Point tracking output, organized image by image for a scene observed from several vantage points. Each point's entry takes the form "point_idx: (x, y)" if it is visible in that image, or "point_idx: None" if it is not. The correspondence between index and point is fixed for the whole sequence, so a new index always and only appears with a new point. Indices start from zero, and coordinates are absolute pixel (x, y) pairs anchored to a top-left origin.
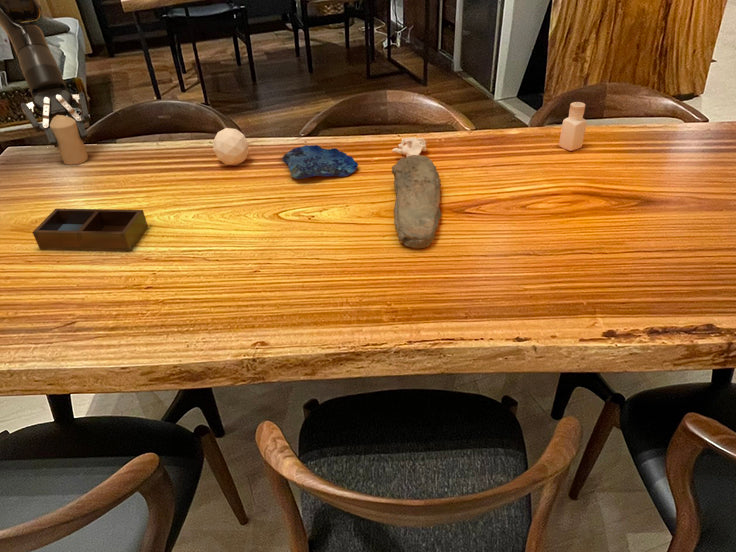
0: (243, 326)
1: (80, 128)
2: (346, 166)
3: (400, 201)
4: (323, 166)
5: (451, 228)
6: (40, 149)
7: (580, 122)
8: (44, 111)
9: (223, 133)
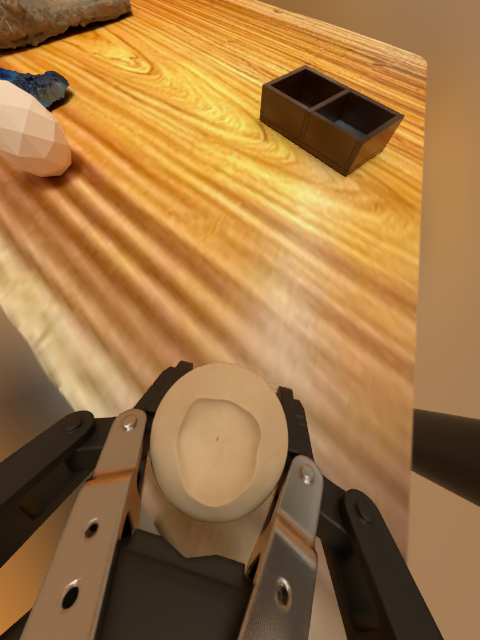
0: (276, 20)
1: (169, 384)
2: None
3: (75, 1)
4: (21, 80)
5: None
6: None
7: None
8: (298, 604)
9: (2, 84)
